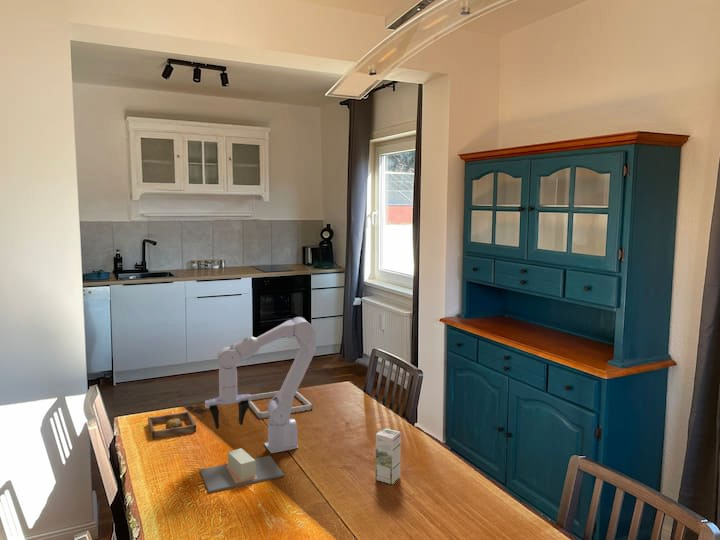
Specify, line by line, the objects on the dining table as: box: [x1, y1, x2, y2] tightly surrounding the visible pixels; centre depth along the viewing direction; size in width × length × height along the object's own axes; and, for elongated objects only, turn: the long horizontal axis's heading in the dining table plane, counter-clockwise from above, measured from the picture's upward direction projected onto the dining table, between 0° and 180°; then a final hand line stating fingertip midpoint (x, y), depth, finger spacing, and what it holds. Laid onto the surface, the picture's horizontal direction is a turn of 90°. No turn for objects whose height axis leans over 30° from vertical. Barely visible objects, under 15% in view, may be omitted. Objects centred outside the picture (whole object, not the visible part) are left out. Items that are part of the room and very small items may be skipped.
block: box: [227, 447, 256, 481], centre depth 163 cm, size 10×4×5 cm, turn 36°
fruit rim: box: [147, 411, 197, 440], centre depth 197 cm, size 15×15×2 cm
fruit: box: [165, 418, 184, 429], centre depth 196 cm, size 8×8×4 cm
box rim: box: [248, 390, 314, 419], centre depth 221 cm, size 22×22×2 cm
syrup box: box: [374, 427, 402, 485], centre depth 160 cm, size 6×6×14 cm
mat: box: [199, 455, 285, 494], centre depth 164 cm, size 22×14×1 cm, turn 117°
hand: (229, 425), depth 176 cm, fingers open, 7 cm apart
